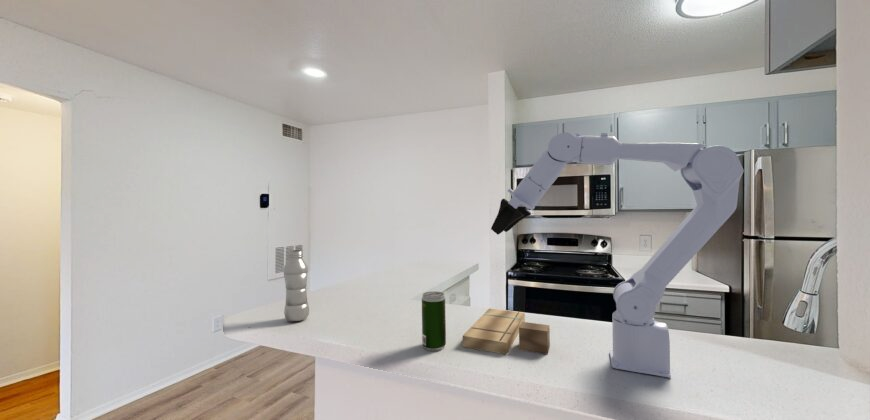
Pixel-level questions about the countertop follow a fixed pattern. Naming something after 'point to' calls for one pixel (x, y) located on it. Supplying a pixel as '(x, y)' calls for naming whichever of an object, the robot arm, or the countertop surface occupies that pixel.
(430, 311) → the beer can
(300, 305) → the plastic bottle
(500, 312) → the oak board
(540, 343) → the walnut block
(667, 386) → the countertop surface
